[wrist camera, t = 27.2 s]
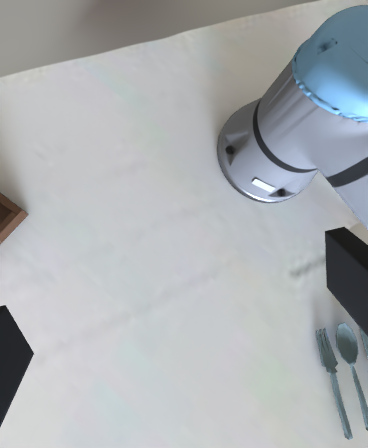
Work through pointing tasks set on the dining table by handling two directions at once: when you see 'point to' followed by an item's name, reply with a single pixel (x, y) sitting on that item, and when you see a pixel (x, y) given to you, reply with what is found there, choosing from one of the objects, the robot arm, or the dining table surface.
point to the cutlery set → (349, 353)
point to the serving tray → (9, 217)
